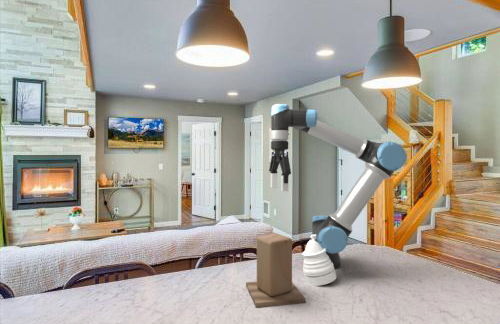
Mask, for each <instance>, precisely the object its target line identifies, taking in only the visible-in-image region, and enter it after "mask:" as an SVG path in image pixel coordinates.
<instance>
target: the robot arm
mask: <svg viewBox="0 0 500 324" xmlns="http://www.w3.org/2000/svg"><path fill="white" fill-rule="evenodd" d="M270 115H271V116H270V117H271V118H270V120H271V122H270V128H271V130H270V140H271V141H270V150H274V151H271V158H270V163H269V170H268V172H269V173H270V188H271V189H275V188H278V169H279V168H278V167H279V165H280V168H281V169H280V171H281V192H289V176H290V175H291V174H292V171H291V164H290V159H289V151H286V150H289V141H288V140H289V135H290V133H289V131H290V130H289V128H294V129H295V130H297V131H301V132H304V133H306V134H309V135H310V136H313V137H315V138H317V139H319V140H322V141H323V142H325V143H329V144H330V145H333V146H334V147H337V148H339V149H342V150H343V151H346V152H349V153H350V154H352V155H355V157H356V159H359V160H360V161H363V162H365V169H364V170H363V171H362V172H361V175H360V176H359V177H358V179H357V181H356V182H355V184H354V185H353V186H352V188H351V189H350V190H349V192H348V193H347V195H346V196H345V197H344V199H343V200H342V202H341V203H340V205H339V206H338V208H337V209H336V211H335V212H334V213H332V214H328V215H327V214H326V215H325V214H324V215H323V214H321V215H320V214H319V215H313V216H312V220H311V223H312V226H311V227H312V228H311V229H312V230H311V235H314V234H316V239H315V241H316V242H318V243H319V244H320V245H321V247H322V248H323V249H324V248H325V249H326V254H327V255H328V256H329V259H330V260H331V262H332V263H333V265H334V269H337V268H340V267H341V266H342V259H341V256H340V254H339V253H341V252H343V251H344V250H345V248H346V247H347V245H348V241H349V237H350V235H351V233H353V227H352V226H353V224H354V223H355V221H356V220H357V218H359V216H360V214H361V213H362V211H363V210H364V208H365V207H366V206H367V205H368V203H369V202H370V200H371V198H372V197H373V196H374V194H375V192H377V190H378V189H379V187H380V186H381V184H382V183H383V182H384V181H385V180H387V179H388V180H389V179H390V178H391V177H392V175H393V174H394V173H395V171H397V170H399V169H401V168H402V167H403V166H404V165H405V163H406V159H407V153H406V151H405V149H404V147H403V146H402V145H401V144H399V143H397V142H393V141H385V142H376V141H371V140H369V139H366V138H364V139H361V138H358V137H356V136H354V135H352V134H350V133H348V132H345V131H343V130H341V129H339V128H336V127H334V126H332V125H330V124H327V123H325V122H323V121H321V120H319V119H318V113H317V110H315V109H311V108H310V109H309V108H308V109H290V105H288V104H286V103H285V104H284V103H283V104H282V103H276V104H274V105H272V106H271V113H270Z"/></svg>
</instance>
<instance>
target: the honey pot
mask: <svg viewBox="0 0 500 324" xmlns="http://www.w3.org/2000/svg"><path fill="white" fill-rule="evenodd" d="M309 237H310V239H309V241H307V243H306V244H305V249H304V251H303V252H302V254H301V255H302V256H303V262H302V263H303V265H302V272H303V276H304V280H305V282H306V283H307V284H309V285H311V286H314V287H318V286H324V285H328V284H330V283H332V282H334V281H336V280H337V273H336V270H335V269H336V268H335V269H334V265H333V263H332V262H331V260H330V259H329V256H328V255H327V254H326V249H325V248H324V249H323V248H322V247H321V245H320V244H319V243H318V242H316V241H315V239H316V234H314V235H312V234H311V235H310V236H309Z"/></svg>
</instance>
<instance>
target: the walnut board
mask: <svg viewBox="0 0 500 324" xmlns="http://www.w3.org/2000/svg"><path fill="white" fill-rule="evenodd" d="M245 287H246V290H247V292H248V294H249V296H250V298H251V300H252V302H253V304H254V306H255V308H263V307H274V306H284V305H285V306H286V305H294V304H304V303H306V301H307V299H306V297H305V296H304V294H302V292H301V291H300V290H299V289H298V287H297V286H296V285H295V284H294V282H292V290H291V291H290V292H286V293H283V294H279V295H276V296H269V295H268V294H266V293H265V292H263V291H261V290H260V289H258V288H257V281H249V282H245Z"/></svg>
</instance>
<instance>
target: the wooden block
mask: <svg viewBox="0 0 500 324" xmlns="http://www.w3.org/2000/svg"><path fill="white" fill-rule="evenodd" d="M256 282H257V288H258V289H260V290H261V291H263V292H265V293H266V294H268V295H269V296H276V295H279V294H283V293H286V292H290V291H291V290H292V283H293V240H292V238H291V237H288V236H285V235H282V234H279V233H270V234H264V235H259V236H257V237H256Z"/></svg>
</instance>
